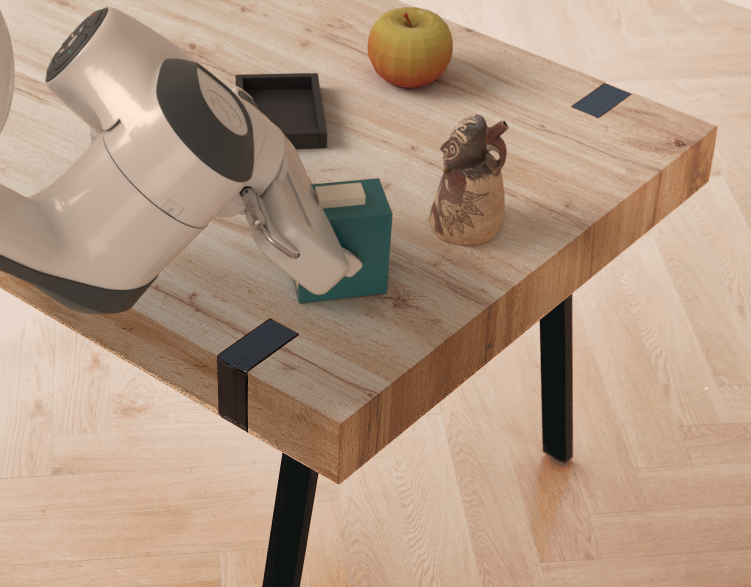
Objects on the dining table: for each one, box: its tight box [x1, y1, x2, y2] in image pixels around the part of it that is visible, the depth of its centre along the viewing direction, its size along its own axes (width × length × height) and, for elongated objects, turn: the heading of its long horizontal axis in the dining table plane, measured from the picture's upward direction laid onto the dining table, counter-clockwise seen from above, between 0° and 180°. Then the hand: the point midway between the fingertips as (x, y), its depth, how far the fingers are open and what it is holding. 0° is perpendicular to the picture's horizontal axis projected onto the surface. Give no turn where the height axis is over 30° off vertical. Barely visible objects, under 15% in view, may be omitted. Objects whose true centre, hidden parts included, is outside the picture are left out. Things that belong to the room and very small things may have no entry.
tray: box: [235, 72, 328, 150], centre depth 116 cm, size 9×12×2 cm
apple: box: [367, 6, 454, 89], centre depth 122 cm, size 10×10×8 cm
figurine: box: [427, 113, 509, 246], centre depth 100 cm, size 7×7×12 cm
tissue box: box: [292, 177, 393, 304], centre depth 94 cm, size 5×8×10 cm, turn 102°
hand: (344, 245), depth 95 cm, fingers closed on tissue box, 5 cm apart
